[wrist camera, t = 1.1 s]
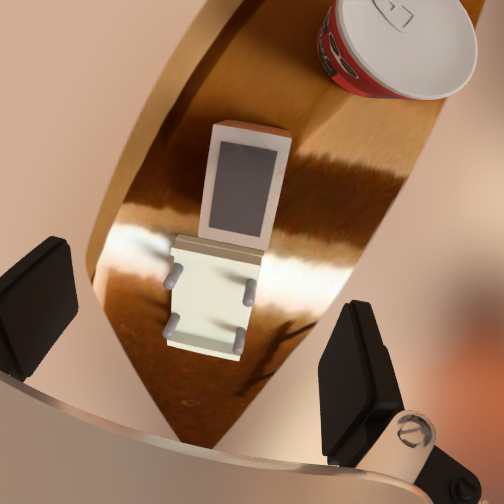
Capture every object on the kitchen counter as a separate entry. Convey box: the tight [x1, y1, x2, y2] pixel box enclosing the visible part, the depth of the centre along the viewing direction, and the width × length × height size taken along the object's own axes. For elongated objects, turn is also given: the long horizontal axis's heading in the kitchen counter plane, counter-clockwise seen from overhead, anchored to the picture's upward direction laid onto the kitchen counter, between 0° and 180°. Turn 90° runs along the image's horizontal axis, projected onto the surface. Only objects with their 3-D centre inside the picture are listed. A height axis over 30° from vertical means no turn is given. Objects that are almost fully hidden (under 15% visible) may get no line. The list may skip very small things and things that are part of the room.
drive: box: [198, 119, 292, 251], centre depth 23 cm, size 8×5×6 cm, turn 170°
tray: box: [162, 234, 264, 361], centre depth 30 cm, size 12×8×4 cm, turn 170°
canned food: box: [317, 0, 478, 100], centre depth 16 cm, size 8×8×11 cm
